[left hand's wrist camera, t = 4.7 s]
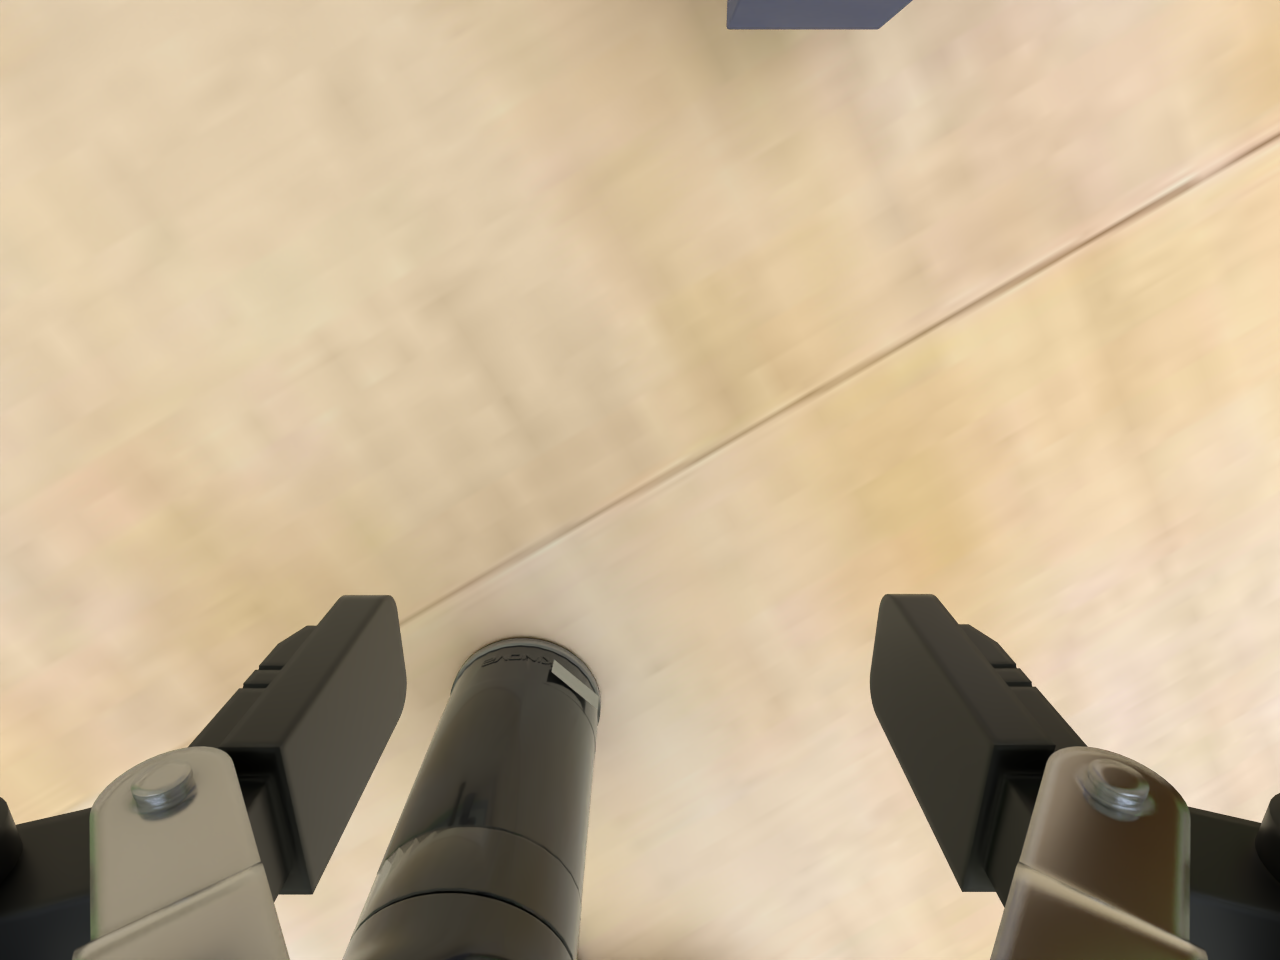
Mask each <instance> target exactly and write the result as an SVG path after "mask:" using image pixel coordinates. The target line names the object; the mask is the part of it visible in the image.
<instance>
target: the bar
mask: <svg viewBox="0 0 1280 960" xmlns="http://www.w3.org/2000/svg"><path fill="white" fill-rule="evenodd" d="M911 1H912V0H728V1H727V29H879V28H880V27H882V26H883V25H884V24H885V23H886V22H888V21H889V20H890V19H891V18H892V17H893V16H895V15H896V14H897V13H898V12H899V11H901V10H902V9H903V8H904V7H905V6H906V5H908V4H909V3H910V2H911Z"/></svg>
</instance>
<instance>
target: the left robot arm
mask: <svg viewBox="0 0 1280 960" xmlns="http://www.w3.org/2000/svg"><path fill="white" fill-rule="evenodd" d="M406 685H407V681H406V670H405V663H404V656H403V648H402V641H401V634H400V627H399V619H398V612H397V606H396V603H395V601H394V599H393V597H391V596H389V595H344V596H342V597H340V598H339V599H338V601H337V602H336V603H335V604H334V605H333V607H332V608H331V609H330V610H329V612H328V613H327V614H326V615H325V616H324V618H323V619H322V620H321V621H320V623H319V624H318V625H317V626H306V627H304V628H303V629H301V630H300V631H298V632H296V633H295V634H293V635H292V636H290V637H288V638H287V639H285V640H284V641H282V642H281V643H279V644H278V645H277V646H276V647H275V648H274V649H273V650H272V652H271V653H270V654H269V655H268V656H267V657H266V658H265V660H264V661H263V662H262V663H261V664H260V665H259V670H255V671H254V672H253V673H252V674H251V676H250V677H249V678H248V679H247V680H246V681H245V682H244V684H243V688H239V689H238V690H237V692H236V693H235V694H234V695H233V696H232V697H231V698H230V700H229V701H228V702H227V703H226V704H225V705H224V706H223V708H222V709H221V710H220V711H219V712H218V713H217V714H216V716H215V717H214V718H213V719H212V720H211V721H210V723H209V724H208V725H207V726H206V727H205V728H204V729H203V731H202V732H201V733H200V734H199V735H198V736H197V737H196V739H195V740H194V741H193V742H192V743H191V744H190V745H189V747H188V748H182V749H177V750H173V751H170V752H166V753H163V754H160V755H158V756H155V757H153V758H150V759H148V760H146V761H144V762H142V763H140V764H138V765H136V766H134V767H133V768H131V769H129V770H128V771H126V772H125V773H123V774H122V775H121V776H119V777H118V778H116V779H115V780H114V781H113V782H112V783H111V784H109V785H108V786H107V787H106V788H105V789H104V791H103V792H102V793H101V794H100V795H99V796H98V798H97V799H96V801H95V802H94V804H93V807H92V808H88V809H84V810H80V811H75V812H71V813H67V814H62V815H58V816H53V817H49V818H44V819H40V820H36V821H31V822H27V823H22V824H18V825H15V823H14V820H13V818H12V815H11V813H10V810H9V808H8V805H7V803H6V802H5V801H4V800H3V798H1V797H0V960H290V958H289V955H288V951H287V948H286V944H285V941H284V937H283V934H282V930H281V926H280V923H279V919H278V916H277V912H276V909H275V905H274V902H275V900H276V898H277V896H278V894H313V892H314V890H315V888H316V886H317V884H318V882H319V880H320V878H321V876H322V874H323V872H324V870H325V868H326V866H327V864H328V862H329V860H330V858H331V856H332V854H333V852H334V850H335V848H336V846H337V844H338V842H339V840H340V838H341V836H342V834H343V832H344V830H345V828H346V826H347V823H348V821H349V819H350V817H351V815H352V813H353V811H354V809H355V807H356V805H357V803H358V801H359V799H360V797H361V795H362V793H363V791H364V789H365V787H366V785H367V783H368V781H369V779H370V777H371V775H372V773H373V771H374V769H375V767H376V765H377V763H378V761H379V759H380V757H381V754H382V752H383V750H384V748H385V746H386V744H387V742H388V740H389V738H390V736H391V734H392V732H393V730H394V728H395V726H396V724H397V722H398V720H399V718H400V716H401V713H402V710H403V707H404V703H405V697H406ZM870 692H871V699H872V704H873V708H874V711H875V713H876V716H877V718H878V720H879V722H880V724H881V726H882V728H883V730H884V732H885V734H886V736H887V738H888V740H889V742H890V744H891V747H892V749H893V751H894V753H895V755H896V757H897V759H898V761H899V763H900V765H901V767H902V769H903V771H904V773H905V775H906V777H907V779H908V781H909V784H910V786H911V788H912V790H913V792H914V794H915V796H916V798H917V800H918V802H919V804H920V806H921V808H922V810H923V812H924V814H925V816H926V818H927V821H928V823H929V825H930V827H931V829H932V831H933V833H934V835H935V837H936V839H937V841H938V843H939V845H940V847H941V849H942V851H943V853H944V855H945V857H946V860H947V862H948V864H949V866H950V868H951V870H952V872H953V874H954V876H955V878H956V880H957V882H958V884H959V886H960V888H961V890H962V892H996V893H997V895H998V896H999V898H1000V900H1001V902H1002V904H1003V906H1004V908H1005V909H1004V912H1003V916H1002V919H1001V923H1000V926H999V930H998V934H997V937H996V941H995V944H994V948H993V951H992V955H991V958H990V960H1280V793H1279V794H1277V795H1275V796H1274V797H1273V798H1272V799H1271V801H1270V803H1269V806H1268V808H1267V811H1266V813H1265V816H1264V818H1263V821H1262V823H1258V822H1254V821H1249V820H1245V819H1241V818H1236V817H1232V816H1227V815H1223V814H1218V813H1214V812H1209V811H1205V810H1201V809H1196V808H1192V807H1188V806H1187V804H1186V802H1185V801H1184V799H1183V798H1182V796H1181V795H1180V794H1179V793H1178V792H1177V791H1176V789H1175V788H1174V787H1173V786H1172V785H1171V784H1169V783H1168V782H1167V781H1166V780H1165V779H1164V778H1162V777H1161V776H1159V775H1158V774H1157V773H1155V772H1154V771H1152V770H1151V769H1149V768H1147V767H1146V766H1144V765H1142V764H1140V763H1138V762H1136V761H1134V760H1132V759H1130V758H1127V757H1125V756H1122V755H1120V754H1117V753H1114V752H1110V751H1107V750H1103V749H1098V748H1092V747H1087V745H1086V744H1085V743H1084V742H1083V741H1082V740H1081V739H1080V737H1079V736H1078V735H1077V734H1076V733H1075V732H1074V730H1073V729H1072V728H1071V727H1070V726H1069V725H1068V724H1067V722H1066V721H1065V720H1064V719H1063V718H1062V717H1061V715H1060V714H1059V713H1058V712H1057V711H1056V710H1055V708H1054V707H1053V706H1052V705H1051V704H1050V703H1049V702H1048V700H1047V699H1046V698H1045V697H1044V696H1043V695H1042V693H1041V692H1040V691H1039V690H1038V689H1037V688H1036V687H1032V682H1031V681H1030V680H1029V678H1028V677H1027V676H1026V675H1025V674H1024V673H1023V672H1022V670H1021V669H1020V668H1016V663H1015V662H1014V661H1013V660H1012V659H1011V658H1010V657H1009V655H1008V654H1007V653H1006V652H1005V651H1004V650H1003V648H1002V647H1001V646H1000V645H999V644H998V643H997V642H996V641H994V640H992V639H991V638H989V637H988V636H986V635H985V634H983V633H981V632H980V631H978V630H977V629H975V628H974V627H972V626H970V625H969V624H958V623H957V622H956V621H955V619H954V618H953V617H952V616H951V614H950V613H949V612H948V611H947V609H946V608H945V607H944V606H943V604H942V603H941V602H940V601H939V599H938V598H937V597H936V596H934V595H932V594H886V595H885V596H884V597H883V598H882V600H881V603H880V607H879V613H878V621H877V628H876V635H875V643H874V650H873V657H872V665H871V672H870ZM600 707H601V700H600V693H599V688H598V685H597V683H596V681H595V678H594V677H593V675H592V673H591V672H590V670H589V669H588V668H587V666H586V665H585V664H584V663H583V662H582V661H581V660H580V659H579V658H578V657H576V656H575V655H574V654H572V653H571V652H569V651H568V650H566V649H564V648H562V647H560V646H558V645H555V644H553V643H550V642H547V641H543V640H538V639H530V638H514V639H507V640H503V641H499V642H496V643H493V644H490V645H488V646H486V647H484V648H482V649H480V650H479V651H477V652H476V653H475V654H473V655H472V656H471V657H470V658H469V659H468V660H467V661H466V662H465V663H464V665H463V666H462V667H461V669H460V671H459V672H458V674H457V676H456V679H455V681H454V684H453V687H452V690H451V695H450V698H449V700H448V703H447V705H446V708H445V710H444V712H443V715H442V717H441V719H440V721H439V724H438V726H437V729H436V731H435V733H434V736H433V738H432V741H431V743H430V746H429V748H428V751H427V753H426V755H425V758H424V760H423V763H422V765H421V768H420V770H419V773H418V775H417V777H416V780H415V782H414V785H413V787H412V790H411V792H410V794H409V797H408V799H407V802H406V804H405V807H404V809H403V812H402V814H401V816H400V819H399V821H398V824H397V826H396V829H395V831H394V834H393V836H392V838H391V841H390V843H389V846H388V848H387V851H386V853H385V855H384V858H383V860H382V863H381V865H380V868H379V870H378V873H377V876H376V878H375V881H374V883H373V886H372V888H371V891H370V893H369V895H368V898H367V900H366V903H365V905H364V908H363V910H362V913H361V915H360V917H359V920H358V922H357V925H356V927H355V930H354V932H353V935H352V937H351V939H350V942H349V944H348V947H347V949H346V952H345V954H344V957H343V959H342V960H577V953H578V941H579V929H580V918H581V902H582V891H583V880H584V868H585V857H586V846H587V835H588V823H589V812H590V801H591V790H592V778H593V767H594V756H595V747H596V736H597V726H598V722H599V717H600Z"/></svg>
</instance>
